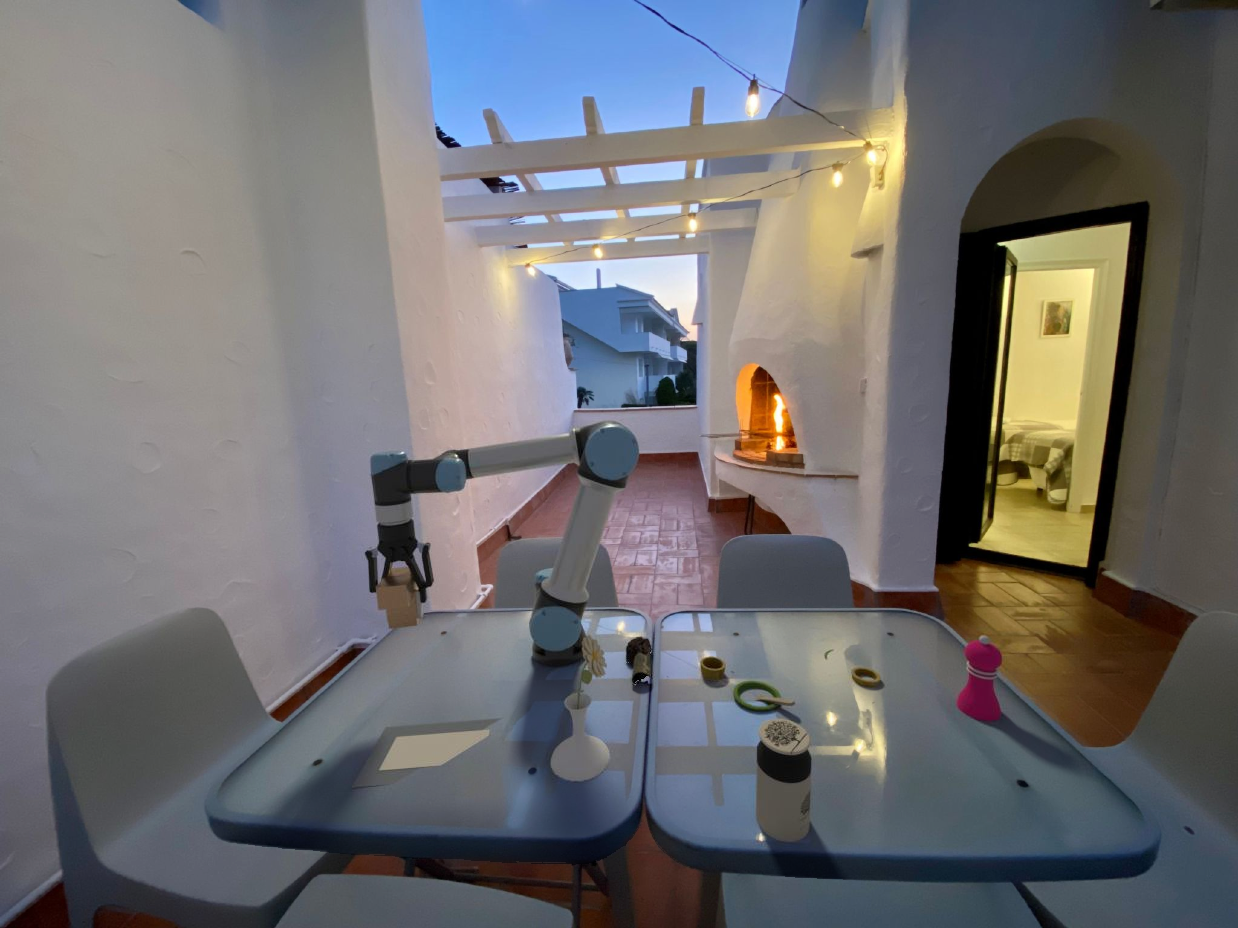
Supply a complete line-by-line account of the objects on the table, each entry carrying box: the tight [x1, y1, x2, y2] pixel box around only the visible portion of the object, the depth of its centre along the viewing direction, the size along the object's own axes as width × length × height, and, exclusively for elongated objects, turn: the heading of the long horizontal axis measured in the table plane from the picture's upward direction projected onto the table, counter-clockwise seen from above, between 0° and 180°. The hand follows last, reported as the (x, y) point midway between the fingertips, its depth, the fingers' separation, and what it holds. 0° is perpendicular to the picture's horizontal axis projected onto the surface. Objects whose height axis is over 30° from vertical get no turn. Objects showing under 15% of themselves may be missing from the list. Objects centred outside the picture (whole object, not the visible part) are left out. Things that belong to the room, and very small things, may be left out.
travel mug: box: [755, 718, 813, 843], centre depth 76 cm, size 8×8×18 cm
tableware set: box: [699, 649, 882, 712], centre depth 115 cm, size 41×28×6 cm
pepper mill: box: [956, 634, 1003, 722], centre depth 99 cm, size 7×7×20 cm
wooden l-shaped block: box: [376, 566, 421, 629], centre depth 110 cm, size 6×12×12 cm, turn 11°
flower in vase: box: [550, 634, 611, 782], centre depth 92 cm, size 13×11×25 cm
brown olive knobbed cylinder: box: [625, 636, 653, 685], centre depth 124 cm, size 18×7×6 cm, turn 176°
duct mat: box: [350, 717, 502, 789], centre depth 98 cm, size 26×16×1 cm, turn 94°
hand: (405, 617), depth 114 cm, fingers closed on wooden l-shaped block, 6 cm apart
